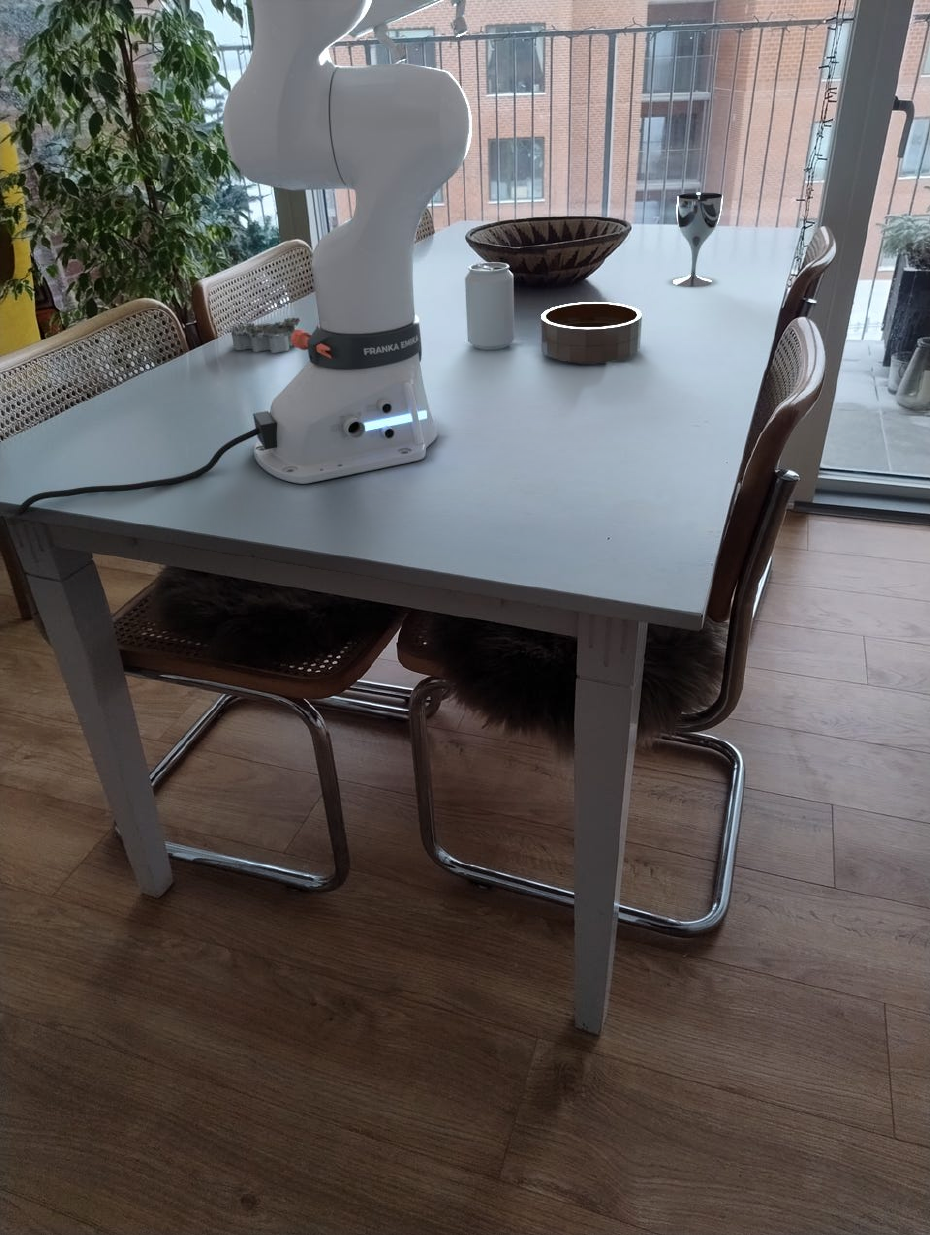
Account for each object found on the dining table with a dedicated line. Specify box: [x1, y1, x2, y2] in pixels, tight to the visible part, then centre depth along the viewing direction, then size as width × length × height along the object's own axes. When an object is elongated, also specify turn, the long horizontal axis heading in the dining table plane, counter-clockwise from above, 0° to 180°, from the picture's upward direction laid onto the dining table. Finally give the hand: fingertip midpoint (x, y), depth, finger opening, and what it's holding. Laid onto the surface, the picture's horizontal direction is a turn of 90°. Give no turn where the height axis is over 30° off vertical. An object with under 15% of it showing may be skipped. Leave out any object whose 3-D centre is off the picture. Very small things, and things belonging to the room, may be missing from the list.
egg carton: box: [226, 317, 301, 354], centre depth 143 cm, size 11×8×4 cm
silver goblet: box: [673, 192, 724, 288], centre depth 162 cm, size 8×8×15 cm
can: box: [464, 261, 515, 351], centre depth 135 cm, size 8×8×12 cm
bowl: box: [540, 301, 643, 365], centre depth 131 cm, size 15×15×6 cm
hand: (431, 47), depth 119 cm, fingers open, 8 cm apart
